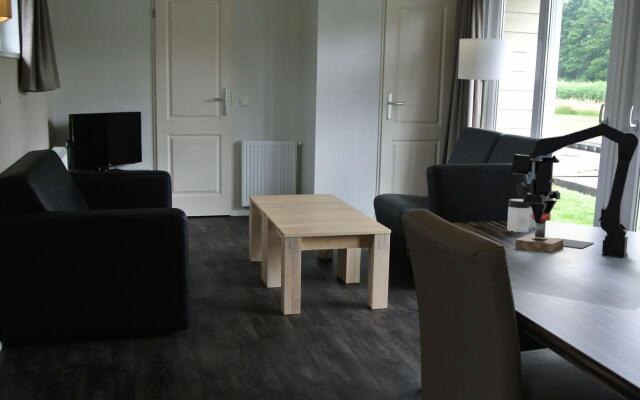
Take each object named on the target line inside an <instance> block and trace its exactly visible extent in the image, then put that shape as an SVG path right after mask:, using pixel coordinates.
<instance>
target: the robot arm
mask: <svg viewBox="0 0 640 400" xmlns="http://www.w3.org/2000/svg"><path fill="white" fill-rule="evenodd" d="M598 137H604V138H606V139H607V140H610V141H611V142H613V143H616V144H617V164H616V167H615V172H614V177H613V181H612V186H611V191H610V195H609V199H608V204H607V205H606V207H605V206H602V207H601V210H600V216H599V218H598V222H600V223H599V225H600V227H601V229H602V231H604V232H605V233H606V235H604V239H603V240H602V245H601V246H602V247H601V253H602V254H601V255H602V256H605V257H606V256H607V257H614V258H623V259H624V258H625V257H627V256H628V255H629V254H628V253H627V252H628V251H627V250H628V236H627V231H628V229H627V228H626V226H624V224H622V223H621V220H622V219H621V216H622V214H621V213H622V200H623V196H624V190H625V186H626V182H627V178H628V174H629V169H630V164H631V162H632V159H633V157H634V154H635V152H636V149H637V147H638V145H639V137H638V136H637V134H635V133H633V132H623V131H622V130H619V129H617V128H615V127H612V126H611V125H609V124H608V123H605V122H603V123H599V124H598V125H595V126H590V127H587V128H584V129H581V130H577V131H575V132H571V133H567V134H564V135H559V136H550V137H545V138H544V137H543V138H540V139H538V140H537V141H536V143H535V145H534V150H532V152H531V153H530V154H518V153H514V154H513V156H512V162H511V164H510V165H511V166H510V167H511V169H510V172H511V174H512V175H526V176H529V175H530V173H533V172H534V176H533V177H534V178H532V179H531V181H530V182H529V183H527V184H525V183H524V182H519V183H517V184H516V187H515V192H516V193H517V195H518V197H520V196H522V197H523V198H522V199H523V202H526V203H527V204H528V205H530V206H531V208H532V211H533V214H534V219H535V223H539V222H540V220H541V217H542V215H543V212H545V213H550V214H551V213H552V210H553V208H554V207H555V205H556V204H557V202H558V200H560V199H561V193H560V191H559V190H552V188H553V183H554V182H555V179H554V178H553V175H554V174H553V171H554V164H558V163H560V162H561V160H560V159H559V158H557V156H556V155H553V156H551V157H548V156H549V155H551V154H553V153H555V152H557V151H560V150H562V149H563V148H566V147H567V146H571V145H572V146H573V145H574V144H578V143H582V142H585V141H588V140H592V139H594V138H598ZM541 156H542V158H541V159H537V158H540V157H541ZM527 193H528V194H527ZM554 199H555V200H554Z"/></svg>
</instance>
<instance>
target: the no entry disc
mask: <svg viewBox="0 0 640 400" xmlns="http://www.w3.org/2000/svg"><path fill="white" fill-rule="evenodd" d="M551 216H552V215H551V212H550V213H545V212H543V215H542V217H541V220H540V222H539V223H536V226H535V229H534V236H535V237H538V238H545V237H546V224H547V221H548V222H549V221H551ZM532 219H533V220H535V219H534V214H533V213H532Z"/></svg>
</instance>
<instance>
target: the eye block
mask: <svg viewBox="0 0 640 400" xmlns="http://www.w3.org/2000/svg"><path fill="white" fill-rule="evenodd" d="M558 238H559V237H556V238H555V237H549V236H545V238H538V237H535V234H533V235H532V234H528V235H524V236H523V237H519V238H517V239H515V245H514V246H515V249H517V250H526V251H530V252H531V251H533V252H538V253H545V254H546V253H547V254H553V253H555V252H557V251H559V250H562V249H564V247H563V242H564V239H565V238H561V239H558Z"/></svg>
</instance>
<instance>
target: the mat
mask: <svg viewBox="0 0 640 400" xmlns="http://www.w3.org/2000/svg"><path fill="white" fill-rule="evenodd" d="M557 238H558V239H562V238H559V237H557ZM563 239H564V242H563V248H571V249H579V250H583V249H585V248H588V247H591V246H592V245H594V242H591V241H584V240H576V239H575V240H574V239H567V238H563Z"/></svg>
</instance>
